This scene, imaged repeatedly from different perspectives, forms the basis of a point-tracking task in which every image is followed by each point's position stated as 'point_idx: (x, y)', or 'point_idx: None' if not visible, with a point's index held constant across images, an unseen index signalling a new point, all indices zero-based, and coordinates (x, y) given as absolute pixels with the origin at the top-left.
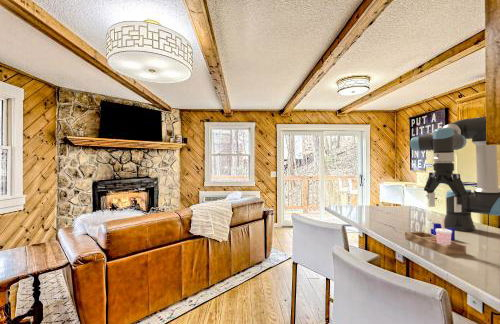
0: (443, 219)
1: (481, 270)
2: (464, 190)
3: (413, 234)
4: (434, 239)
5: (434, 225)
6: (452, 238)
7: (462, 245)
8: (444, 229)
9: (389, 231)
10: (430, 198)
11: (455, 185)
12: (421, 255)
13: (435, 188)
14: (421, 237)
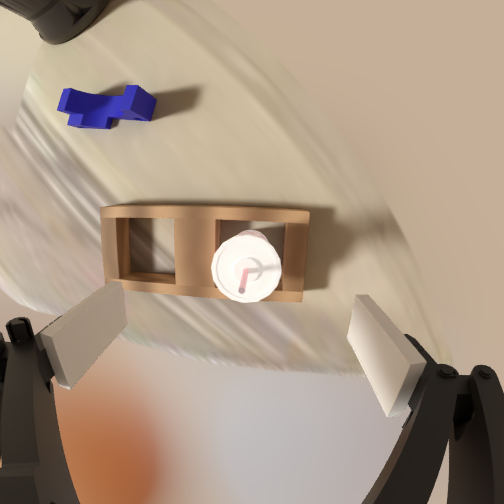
0: (243, 292)
1: (407, 298)
2: (496, 413)
3: (137, 284)
4: (210, 261)
5: (65, 111)
6: (152, 106)
7: (303, 222)
8: (245, 265)
9: (47, 260)
10: (95, 354)
11: (423, 494)
12: (283, 361)
13: (36, 384)
14: (178, 289)
